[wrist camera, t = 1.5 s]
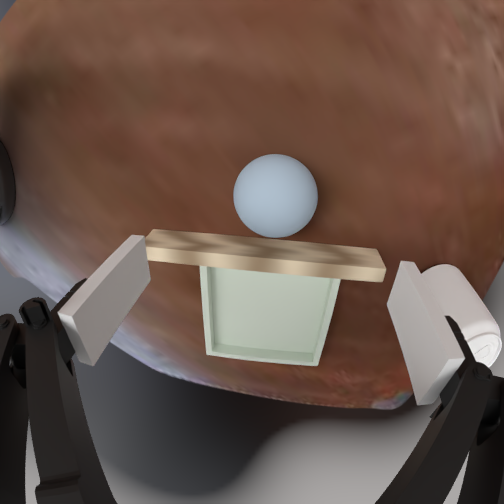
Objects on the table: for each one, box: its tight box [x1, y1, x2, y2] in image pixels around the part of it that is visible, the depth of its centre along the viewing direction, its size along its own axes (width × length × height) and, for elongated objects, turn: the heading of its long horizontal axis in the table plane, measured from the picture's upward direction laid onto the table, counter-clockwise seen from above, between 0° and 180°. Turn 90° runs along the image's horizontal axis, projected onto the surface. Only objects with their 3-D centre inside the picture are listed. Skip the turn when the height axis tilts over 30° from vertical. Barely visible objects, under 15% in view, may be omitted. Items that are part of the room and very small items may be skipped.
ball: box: [234, 154, 318, 238], centre depth 25 cm, size 7×7×7 cm
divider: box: [145, 229, 386, 282], centre depth 29 cm, size 24×2×4 cm, turn 88°
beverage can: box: [421, 264, 502, 368], centre depth 26 cm, size 8×8×12 cm
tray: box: [200, 266, 341, 366], centre depth 34 cm, size 14×14×2 cm
